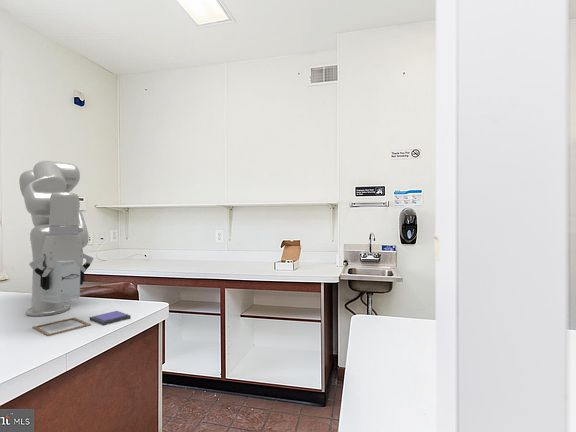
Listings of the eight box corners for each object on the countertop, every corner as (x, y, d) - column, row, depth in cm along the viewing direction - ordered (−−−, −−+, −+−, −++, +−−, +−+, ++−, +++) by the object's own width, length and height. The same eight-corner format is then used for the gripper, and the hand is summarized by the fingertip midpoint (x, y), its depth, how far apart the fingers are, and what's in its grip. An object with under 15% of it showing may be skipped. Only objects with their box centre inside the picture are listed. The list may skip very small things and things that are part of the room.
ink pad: (89, 320, 105) (89, 316, 105) (116, 313, 113) (116, 310, 113) (103, 325, 100) (103, 321, 100) (130, 318, 108) (130, 314, 108)
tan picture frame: (32, 328, 97) (32, 326, 97) (74, 318, 107) (74, 317, 107) (47, 336, 91) (47, 334, 91) (90, 325, 100) (90, 324, 100)
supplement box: (58, 303, 94) (59, 261, 95) (40, 301, 96) (40, 260, 97) (80, 297, 102) (81, 258, 102) (63, 296, 103) (63, 257, 104)
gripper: (88, 230, 108) (87, 281, 108) (25, 232, 94) (24, 290, 94) (99, 231, 104) (98, 283, 104) (34, 232, 90) (33, 293, 89)
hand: (63, 286), depth 99 cm, fingers closed on supplement box, 8 cm apart
